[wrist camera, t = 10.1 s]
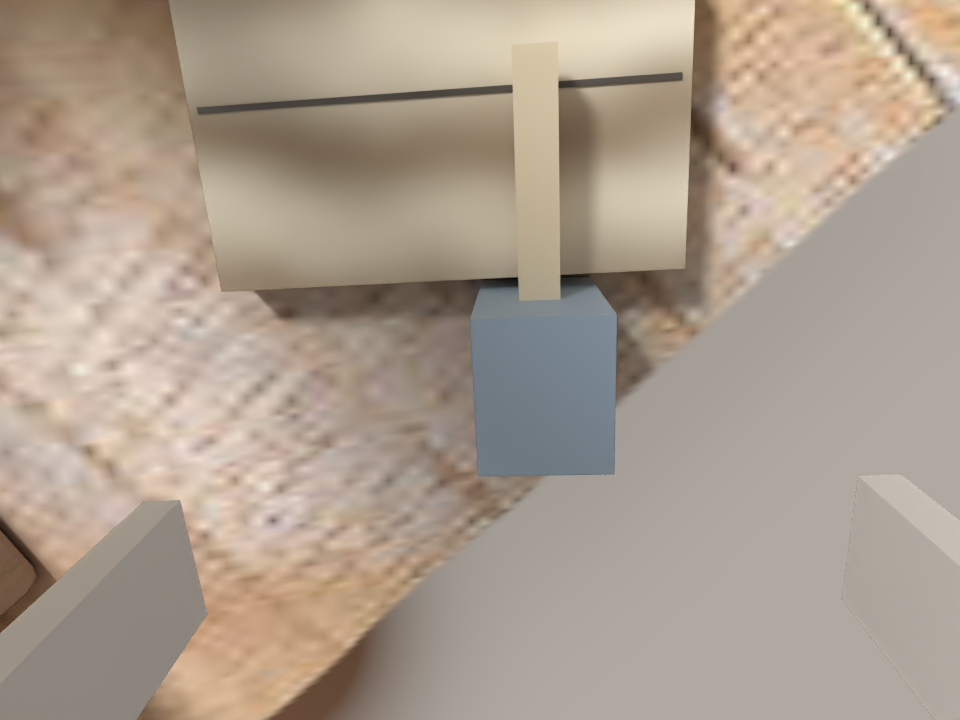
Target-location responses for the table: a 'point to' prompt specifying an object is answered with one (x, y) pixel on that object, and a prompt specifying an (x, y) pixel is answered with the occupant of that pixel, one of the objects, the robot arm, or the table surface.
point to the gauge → (542, 317)
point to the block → (13, 574)
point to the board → (430, 135)
